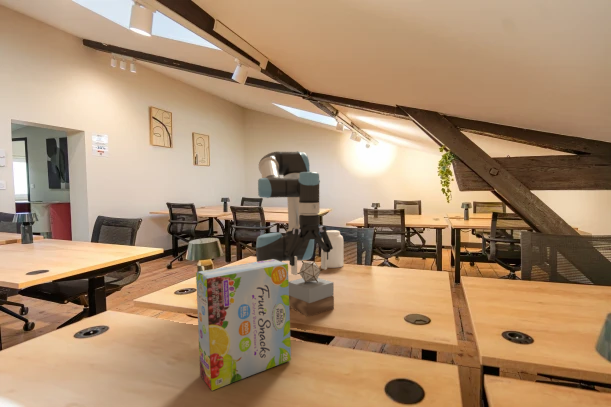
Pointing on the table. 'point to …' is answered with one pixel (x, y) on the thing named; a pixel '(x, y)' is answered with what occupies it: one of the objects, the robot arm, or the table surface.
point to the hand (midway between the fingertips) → (309, 271)
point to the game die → (309, 271)
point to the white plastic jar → (335, 249)
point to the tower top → (311, 289)
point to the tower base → (311, 305)
